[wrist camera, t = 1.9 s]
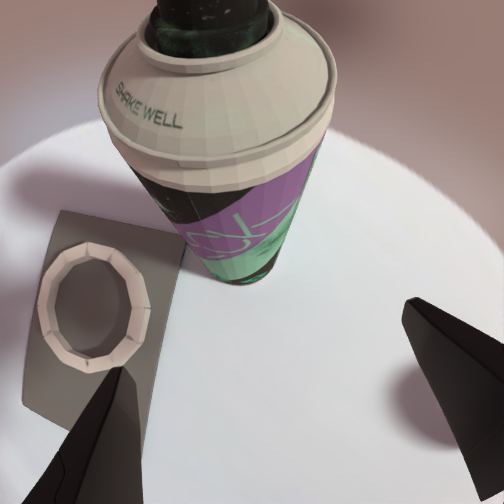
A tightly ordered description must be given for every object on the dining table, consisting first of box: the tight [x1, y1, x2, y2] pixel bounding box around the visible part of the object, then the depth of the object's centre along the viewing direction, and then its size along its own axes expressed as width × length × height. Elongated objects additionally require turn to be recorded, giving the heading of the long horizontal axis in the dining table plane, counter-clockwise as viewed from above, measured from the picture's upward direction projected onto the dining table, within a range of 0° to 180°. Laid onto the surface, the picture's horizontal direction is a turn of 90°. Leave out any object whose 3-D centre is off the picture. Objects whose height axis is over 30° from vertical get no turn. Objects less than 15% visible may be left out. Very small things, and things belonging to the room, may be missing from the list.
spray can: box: [98, 0, 337, 286], centre depth 13 cm, size 6×6×20 cm
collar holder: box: [23, 210, 186, 459], centre depth 21 cm, size 18×12×2 cm, turn 168°
